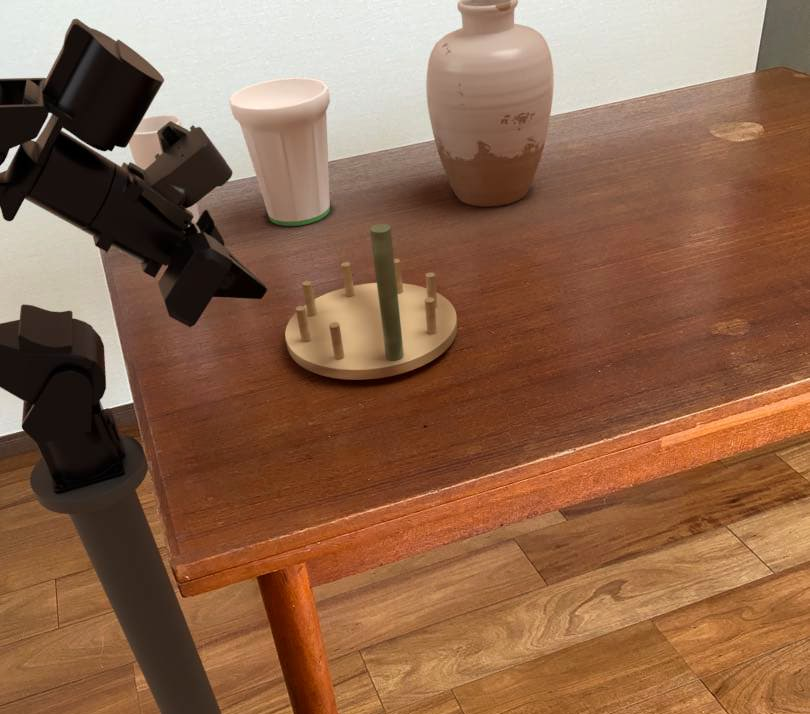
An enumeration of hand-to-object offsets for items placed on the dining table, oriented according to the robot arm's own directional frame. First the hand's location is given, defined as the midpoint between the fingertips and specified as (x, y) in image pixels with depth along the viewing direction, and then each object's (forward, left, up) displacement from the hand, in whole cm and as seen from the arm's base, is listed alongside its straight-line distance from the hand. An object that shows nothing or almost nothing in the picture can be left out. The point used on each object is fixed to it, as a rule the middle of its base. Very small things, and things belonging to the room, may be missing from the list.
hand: (263, 292), depth 78 cm
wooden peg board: (+11, +8, -12) cm, 18 cm away
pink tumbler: (-3, +44, -12) cm, 45 cm away
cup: (+13, +45, -12) cm, 48 cm away
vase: (+38, +37, -12) cm, 54 cm away
